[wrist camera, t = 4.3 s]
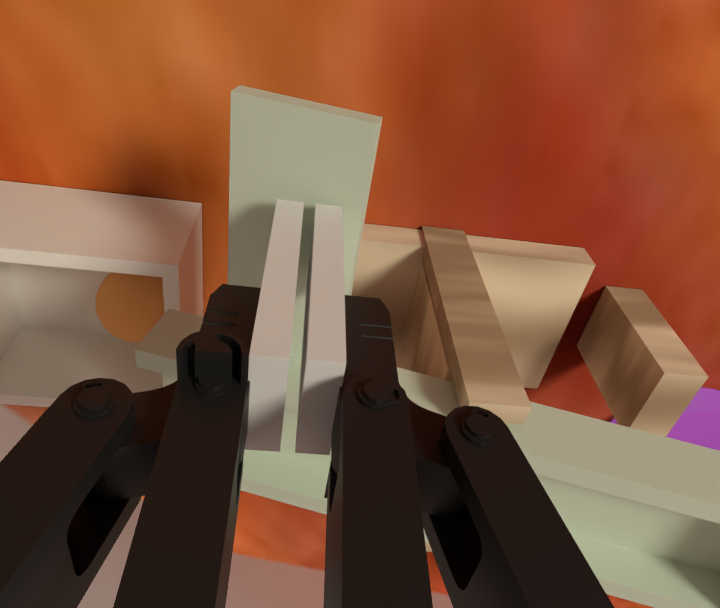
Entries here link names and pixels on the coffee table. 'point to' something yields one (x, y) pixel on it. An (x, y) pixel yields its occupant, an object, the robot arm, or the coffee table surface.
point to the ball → (130, 305)
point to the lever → (535, 437)
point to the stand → (520, 323)
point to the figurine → (699, 420)
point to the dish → (84, 282)
